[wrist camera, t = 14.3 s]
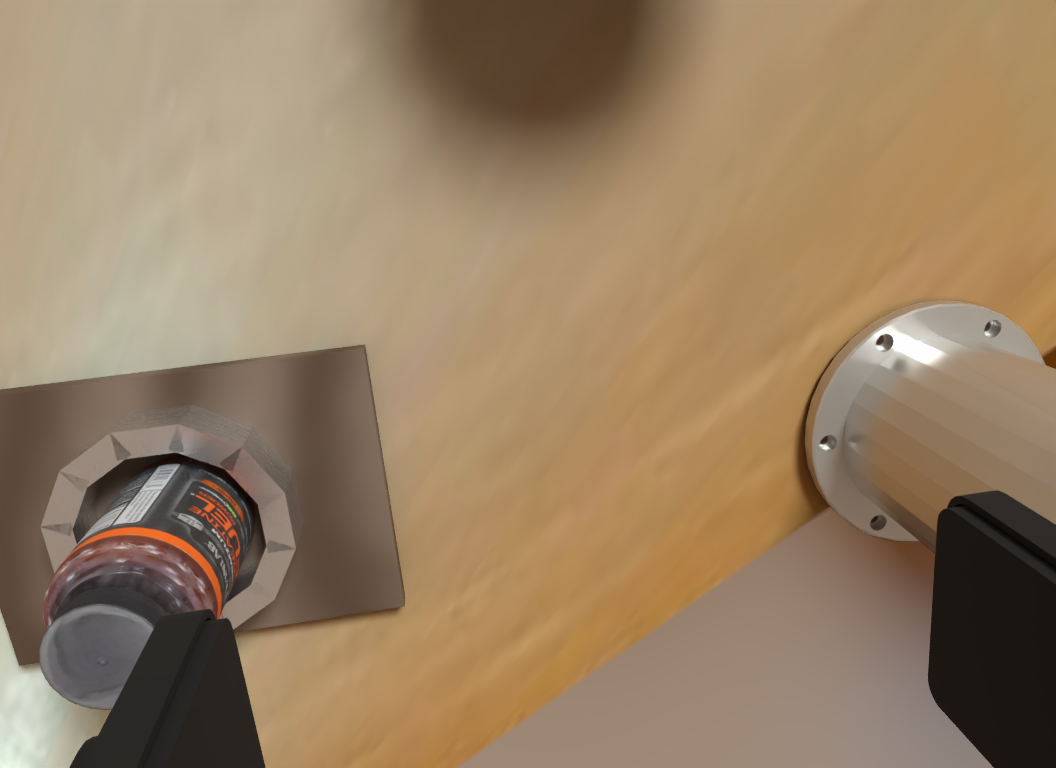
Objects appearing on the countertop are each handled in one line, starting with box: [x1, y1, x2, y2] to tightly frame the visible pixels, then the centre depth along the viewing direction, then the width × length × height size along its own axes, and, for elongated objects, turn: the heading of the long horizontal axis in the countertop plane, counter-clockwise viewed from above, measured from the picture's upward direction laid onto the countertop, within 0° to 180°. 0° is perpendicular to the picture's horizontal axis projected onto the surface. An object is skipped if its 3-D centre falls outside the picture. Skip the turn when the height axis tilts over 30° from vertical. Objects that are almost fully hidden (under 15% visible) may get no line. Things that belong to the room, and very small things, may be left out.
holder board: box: [0, 345, 405, 665], centre depth 39 cm, size 18×13×1 cm
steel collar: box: [41, 405, 303, 629], centre depth 37 cm, size 10×10×2 cm
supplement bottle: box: [39, 457, 255, 710], centre depth 33 cm, size 6×6×11 cm
